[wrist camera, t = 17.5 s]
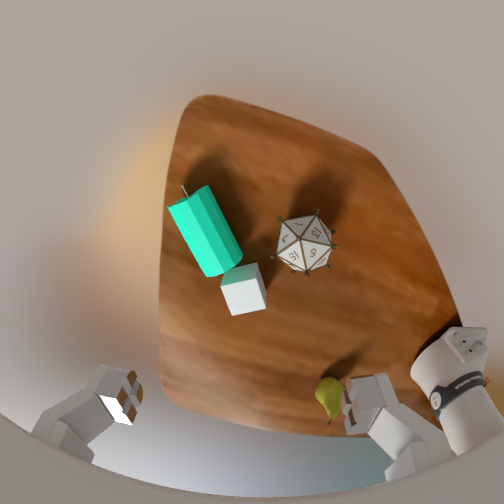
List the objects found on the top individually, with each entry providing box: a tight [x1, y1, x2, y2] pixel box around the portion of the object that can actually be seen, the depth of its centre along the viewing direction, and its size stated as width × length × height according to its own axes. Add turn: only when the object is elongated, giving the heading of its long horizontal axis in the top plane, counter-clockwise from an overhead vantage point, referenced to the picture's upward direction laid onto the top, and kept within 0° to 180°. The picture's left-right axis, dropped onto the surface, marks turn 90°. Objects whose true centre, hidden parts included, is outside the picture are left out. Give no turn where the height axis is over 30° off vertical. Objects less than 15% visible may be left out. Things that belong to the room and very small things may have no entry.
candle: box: [168, 185, 243, 277], centre depth 35 cm, size 6×6×12 cm
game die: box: [270, 208, 339, 278], centre depth 34 cm, size 9×8×10 cm
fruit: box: [315, 377, 344, 425], centre depth 45 cm, size 6×6×12 cm
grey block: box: [220, 262, 266, 315], centre depth 39 cm, size 5×5×5 cm
